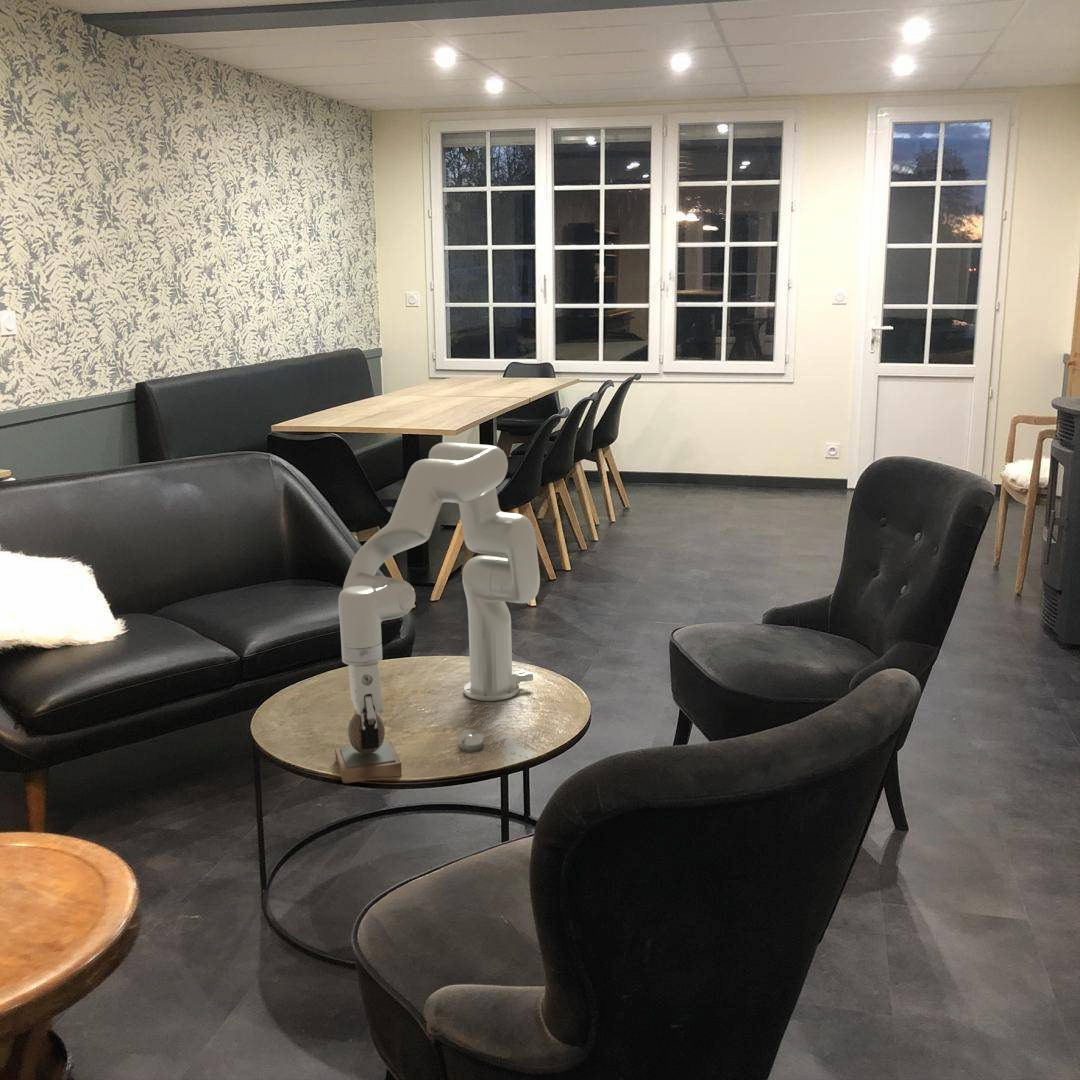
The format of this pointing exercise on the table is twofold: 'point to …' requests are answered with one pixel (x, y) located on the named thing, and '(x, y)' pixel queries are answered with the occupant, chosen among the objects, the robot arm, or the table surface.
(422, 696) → the table surface
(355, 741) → the vase
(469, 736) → the tin
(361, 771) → the plinth
